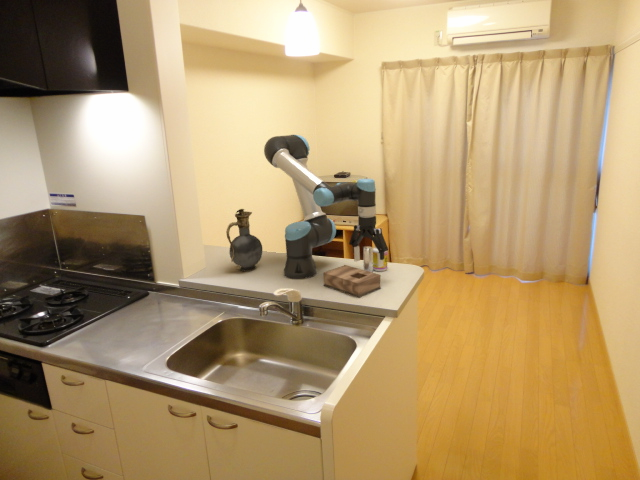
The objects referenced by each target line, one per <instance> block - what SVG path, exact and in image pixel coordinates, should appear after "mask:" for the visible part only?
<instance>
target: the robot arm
mask: <svg viewBox="0 0 640 480" xmlns="http://www.w3.org/2000/svg"><path fill="white" fill-rule="evenodd" d="M263 147H264V148H263V154H264V157H265V158H266V160H267V161H268V163H269V164H270V165H272V166H273V167H274V168H276V169H280V170H281V171H282V172H283V173H284V174H286V175H287V176H289V177H290V179H292V182H293V183H292V184H293V186H294V188H295V189H294V190H295V192H296V195H297V197H298V201H299V203H300V207H301V210H302V213H303V216H304V217H303V218H304V219H303V220H301V221H298V222H297V221H296V222H295V221H294V222H292V223H290V224H288V225H287V226H286V227H285V230H284V232H285V234H284V239H285V251H286V252H285V254H286V261H285V265H284V267H283V276H284V277H286V278H288V279H292V280H293V279H294V280H303V279H309V278H311V277H314V276H316V275H317V274H318V273H317V272H318V271H317V266H316V263H315V260H314V257H313V249H314V248H317V247H320V246H321V247H322V246H325V245H327V244H328V243H331V242H332V241H333V240H334V239H335V236H336V234H337V227H336V224H335V222H334V221H333V220H332V219H330V218H328V216H327V214H326V212H324V211H322V208H321V207H329V206H333V205H335V204H339V203H343V202H344V203H345V202H347V201H352V202H357V212H358V213H357V214H358V217H357V218H358V222H357V223H358V224H356V225H355V224H354V226H353V231H352V234H351V237H350V240H349V243H348V244H349V245H350V246H352V253H353V255H354V257H353V259H354V262H356V263H357V262H359V261H361V253H360V252H361V251H360V243H361V242H362V240H363V238H368V239H370V240H371V241H372V242H373V244H374V247H375V246H376V248H377V249H378V251H379V252H378V267H379V268H380V267H382V266H383V259H384V252H385V251H387V252H388V251H389V248H388V247H389V246H388V245H387V242H386V240H385V237H384V235H383V230H382V229H383V228H377V227H376V225H377V216H376V215H377V208H376V207H377V204H376V194H377V193H376V190H377V189H376V181H375V179H373V178H359V179H357V181H356V183H355V182H343V181H342V182H338V183H336V184H334V185H329V184H328V183H327V182H326V181H324V180H323V179H322V178H321V177H320V176H318V175H317V174H315V173H314V172H313V171H312V170H310V169H309V168H308V165H307V162H308V160H309V158H308V156H309V155H310V145H309V142H308V141H307V139H306V138H305V137H304V136H302V135H301V134H289V135H276V136H272V137H270V138H269V139H268V140H267V141H266V142H265V144H264V146H263Z"/></svg>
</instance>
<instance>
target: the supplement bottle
mask: <svg viewBox="0 0 640 480" xmlns="http://www.w3.org/2000/svg"><path fill="white" fill-rule="evenodd" d="M372 249H373V271H376V272H384V271H386V270H388V251H385V252H384V259H383V266H382V267H380V268H379V267H378V252H379V251H378V249H377V248H376V246H375V245H374V247H372Z"/></svg>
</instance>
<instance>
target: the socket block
mask: <svg viewBox="0 0 640 480" xmlns="http://www.w3.org/2000/svg"><path fill="white" fill-rule="evenodd" d="M323 286H324V287H327V288H330V289H332V290H336V291H338V292H341V293H344V294H347V295H349V294H350V295H349V296H353V297H355V298H361V297H363V296H367V295H369V294H371V293H373V292H375V291H379V290H380V289H382V288H381V274H379V273H375V272H373V273H372V272H369V271H365V270H364V269H361V268H357V267H354V266H351V265H346V264H344V265H341V266H338V267H335V268H333V269H329V270H327V271H324V272H323Z"/></svg>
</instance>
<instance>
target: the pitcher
mask: <svg viewBox="0 0 640 480" xmlns="http://www.w3.org/2000/svg"><path fill="white" fill-rule="evenodd" d="M252 213H253V211H245V209H244V208H239V209H238V210H236V212H235V214H234V216H235V218H236V220H237V221H236V222H235V221H233V222H230V223H229V224H228V225H227V228H226V238H227V241H228V242H229V244H230V245H229V258H230V261H231V262H233V263H234V264H235V265H236V266H239V267H240V268H239V270H240V272H250V270H251V271H253V269H254V270H255V269H256V268H257V266H256V265H257V264H258V263H259V262H260V261H261V259H262V256H263V245H262V242H261V240H260V239H259V238H258V237H257V236H255V235H253V234H251V231H250V228H251V227H250V226H251V225H250V221H249V219H250V216H251V215H252ZM234 226H235V227H236V226H237V227H238V232H239V233H238V234H239V235H238V236H236V237H234V239H232V240H231V236H230V230H231V228H232V227H234Z"/></svg>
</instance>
